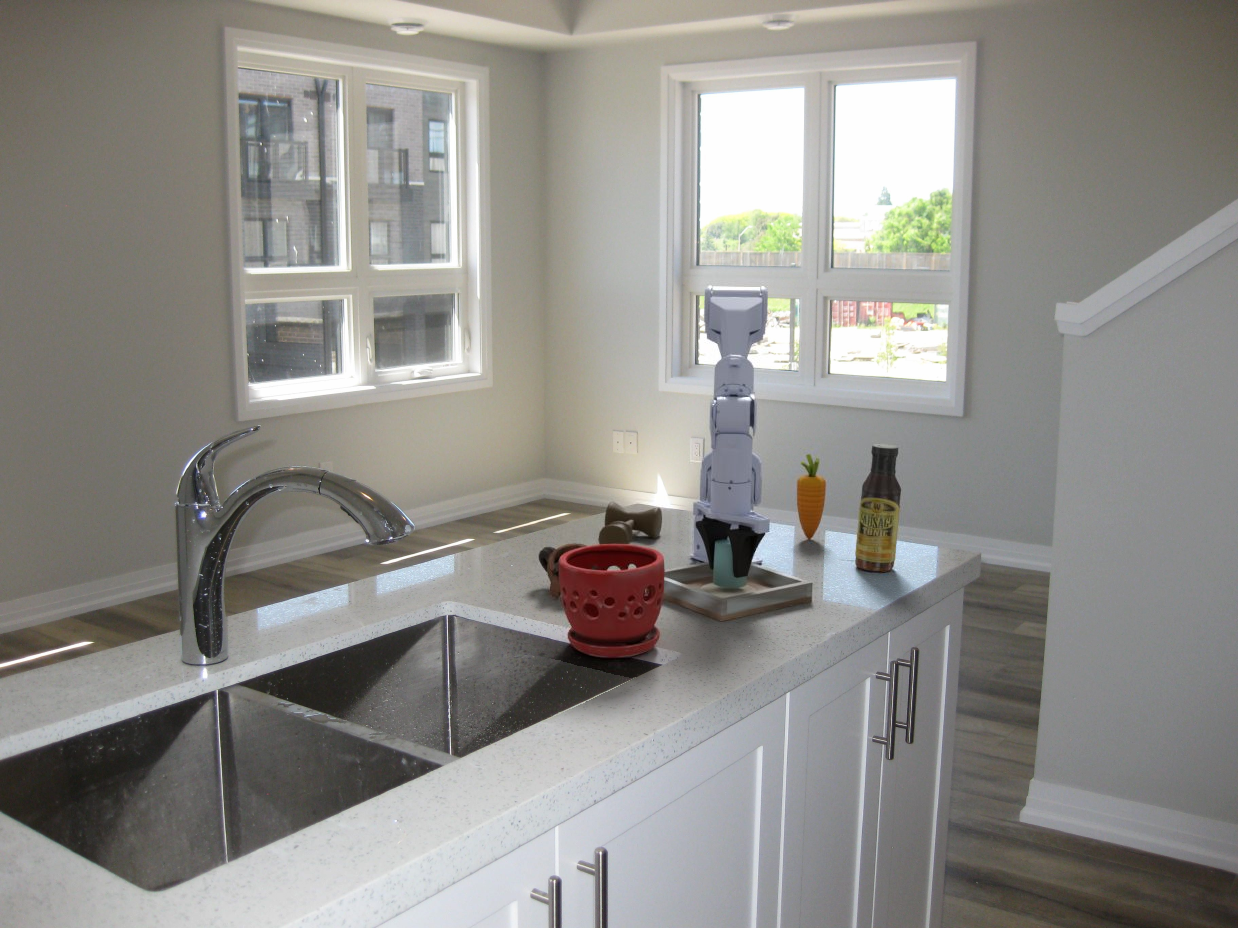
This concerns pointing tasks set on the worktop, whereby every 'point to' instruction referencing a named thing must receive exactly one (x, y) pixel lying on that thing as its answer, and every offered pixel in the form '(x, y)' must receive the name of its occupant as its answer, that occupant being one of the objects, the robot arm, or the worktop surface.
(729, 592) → the corral
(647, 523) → the kendama
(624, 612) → the plant pot
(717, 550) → the teal cylinder
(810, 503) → the carrot
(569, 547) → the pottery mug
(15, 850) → the worktop surface
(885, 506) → the sauce bottle
